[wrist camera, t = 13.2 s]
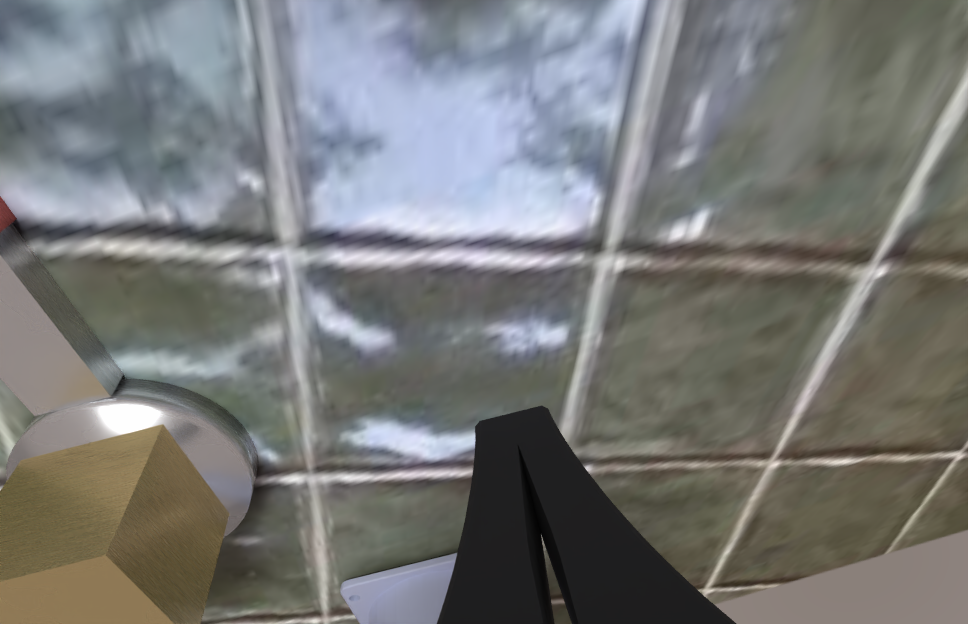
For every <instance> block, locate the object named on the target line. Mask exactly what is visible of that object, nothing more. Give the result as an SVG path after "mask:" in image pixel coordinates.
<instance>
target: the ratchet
mask: <svg viewBox="0 0 968 624" xmlns="http://www.w3.org/2000/svg"><path fill="white" fill-rule="evenodd" d="M16 219H17V218H16V217H15V216H14V214H13V213H12V212H11V210H10V209H9V208H8V206H7V205H6V203H5V202H4V201H3V199H2V198H1V197H0V378H1V379H2V380H3V381H4V383H5V384H6V385H7V386H8V387H9V388H10V389H11V390H12V391H13V393H14V394H15V395H16V396H17V397H18V398H19V399H20V400H21V401H22V403H23V404H24V405H25V406H26V407H27V408H28V409H29V410H30V411H31V412H32V414H33V415H34V416H35V417H34V419H33V420H32V422H31V423H30V425H29V426H28V427H27V429H26V430H25V432H24V433H23V435H22V436H21V437H20V439H19V440H18V442H17V443H16V445H15V446H14V448H13V449H12V452H11V454H10V456H9V458H8V463H7V468H6V469H7V480H8V479H9V477H10V476H11V474H12V473H13V471H14V470H15V468H16V467H17V465H18V464H19V462H20V461H21V460H24V459H28V458H32V457H36V456H40V455H44V454H48V453H52V452H55V451H59V450H63V449H67V448H71V447H75V446H79V445H83V444H87V443H91V442H95V441H99V440H103V439H107V438H111V437H114V436H118V435H122V434H126V433H130V432H134V431H138V430H142V429H146V428H150V427H154V426H158V425H162V424H163V425H164V426H165V427H166V429H167V430H168V431H169V433H170V434H171V435H172V437H173V438H174V440H175V441H176V442H177V444H178V445H179V446H180V448H181V449H182V450H183V452H184V453H185V454H186V456H187V457H188V458H189V460H190V461H191V462H192V464H193V465H194V466H195V468H196V469H197V471H198V472H199V473H200V475H201V476H202V477H203V479H204V480H205V481H206V483H207V484H208V485H209V487H210V488H211V489H212V491H213V492H214V493H215V495H216V496H217V497H218V499H219V500H220V502H221V503H222V504H223V506H224V507H225V508H226V510H227V511H228V512H229V518H228V522H227V525H226V529H225V533H224V537H225V536H227V535H228V534H230V533H231V532H232V531H233V530H234V529H235V528H236V527H237V526H238V525H239V524H240V522H241V521H242V520H243V519H244V517H245V515H246V513H247V511H248V508H249V504H250V501H251V497H252V492H253V488H254V484H255V479H256V475H257V469H258V458H257V452H256V449H255V445H254V443H253V441H252V439H251V437H250V435H249V433H248V432H247V431H246V429H245V428H244V427H243V425H242V424H241V423H240V422H239V421H238V420H237V419H236V418H235V417H234V416H233V415H232V414H230V413H229V412H228V411H227V410H225V409H224V408H223V407H221V406H220V405H218V404H216V403H215V402H213V401H212V400H210V399H208V398H206V397H204V396H202V395H200V394H198V393H195V392H193V391H190V390H187V389H185V388H182V387H178V386H175V385H171V384H168V383H162V382H157V381H152V380H141V379H121V378H122V376H123V372H122V371H121V370H120V368H119V367H118V366H117V364H116V363H115V362H114V360H113V359H112V357H111V356H110V355H109V353H108V352H107V351H106V349H105V348H104V347H103V345H102V344H101V343H100V341H99V340H98V339H97V337H96V336H95V335H94V333H93V332H92V330H91V329H90V328H89V326H88V325H87V324H86V322H85V321H84V320H83V318H82V317H81V316H80V314H79V313H78V312H77V310H76V309H75V308H74V306H73V305H72V303H71V302H70V301H69V299H68V298H67V297H66V295H65V294H64V293H63V291H62V290H61V289H60V287H59V286H58V285H57V283H56V282H55V281H54V279H53V278H52V276H51V275H50V274H49V272H48V271H47V270H46V268H45V267H44V266H43V264H42V263H41V262H40V260H39V259H38V258H37V256H36V255H35V254H34V252H33V251H32V249H31V248H30V247H29V245H28V244H27V243H26V241H25V240H24V239H23V237H22V236H21V235H20V233H19V232H18V231H17V229H16V228H15V227H14V225H13V224H12V222H14V221H15V220H16ZM224 537H223V538H224Z"/></svg>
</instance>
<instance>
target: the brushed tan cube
mask: <svg viewBox="0 0 968 624" xmlns="http://www.w3.org/2000/svg"><path fill="white" fill-rule="evenodd" d="M228 518H229V512H228V511H227V510H226V508H225V507H224V506H223V504H222V503H221V502H220V500H219V499H218V497H217V496H216V495H215V493H214V492H213V491H212V489H211V488H210V487H209V485H208V484H207V483H206V481H205V480H204V479H203V477H202V476H201V475H200V473H199V472H198V471H197V469H196V468H195V466H194V465H193V464H192V462H191V461H190V460H189V458H188V457H187V456H186V454H185V453H184V452H183V450H182V449H181V448H180V446H179V445H178V444H177V442H176V441H175V440H174V438H173V437H172V435H171V434H170V433H169V431H168V430H167V429H166V427H165V426H164V425H163V424H162V425H158V426H154V427H150V428H146V429H142V430H138V431H134V432H130V433H126V434H122V435H118V436H114V437H111V438H107V439H103V440H99V441H95V442H91V443H87V444H83V445H79V446H75V447H71V448H67V449H63V450H59V451H55V452H52V453H48V454H44V455H40V456H36V457H32V458H28V459H24V460H21V461H20V462H19V464H18V465H17V467H16V468H15V470H14V471H13V473H12V474H11V476H10V477H9V479H8V480H7V482H6V483H5V485H4V486H3V488H2V489H1V491H0V624H201V620H202V616H203V613H204V609H205V605H206V601H207V597H208V594H209V590H210V586H211V582H212V578H213V575H214V571H215V567H216V563H217V559H218V556H219V552H220V548H221V544H222V541H223V537H224V533H225V529H226V525H227V522H228Z"/></svg>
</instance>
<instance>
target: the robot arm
mask: <svg viewBox="0 0 968 624" xmlns="http://www.w3.org/2000/svg"><path fill="white" fill-rule="evenodd" d="M475 435H476V441H475V458H474V468H473V476H472V484H471V490H470V495H469V501H468V507H467V512H466V518H465V523H464V528H463V532H462V536H461V540H460V544H459V548H458V552H457V553H454V554H450V555H446V556H442V557H438V558H434V559H430V560H426V561H422V562H418V563H414V564H410V565H406V566H402V567H398V568H394V569H390V570H386V571H382V572H378V573H374V574H370V575H366V576H362V577H357V578H353V579H349V580H346V581H344V582H343V583H342V585H341V591H340V592H341V595H342V596H343V598H344V600H345V601H346V603H347V604H348V606H349V607H350V609H351V610H352V612H353V614H354V615H355V617H356V618H357V620H358V621H359V623H360V624H554V618H553V611H552V604H551V598H550V591H549V584H548V578H547V571H546V565H545V558H544V551H543V545H542V538H543V541H544V544H545V546H546V549H547V552H548V555H549V558H550V561H551V564H552V567H553V570H554V573H555V575H556V578H557V581H558V584H559V587H560V590H561V593H562V596H563V599H564V602H565V604H566V607H567V610H568V613H569V616H570V619H571V622H572V624H736V623H735V622H734V621H733V620H732V619H730V618H729V617H728V616H727V615H726V614H724V613H723V612H722V611H721V610H720V609H719V608H717V607H716V606H715V605H714V604H713V603H711V602H710V601H709V600H708V599H707V598H706V597H704V596H703V595H702V594H701V593H700V592H699V591H698V590H697V589H696V588H695V587H694V586H692V585H691V584H690V583H689V582H688V581H687V580H686V579H685V578H684V577H683V576H682V575H681V574H680V573H678V572H677V571H676V570H675V569H674V568H673V567H672V566H671V565H670V564H669V563H668V562H667V561H666V560H665V559H664V558H663V557H662V556H661V555H660V554H659V553H658V552H657V551H656V550H655V549H654V548H653V547H652V546H651V545H650V544H649V543H648V542H647V541H646V540H645V539H644V537H643V536H642V535H641V534H640V533H639V532H638V531H637V530H636V529H635V528H634V527H633V526H632V524H631V523H630V522H629V521H628V520H627V519H626V518H625V517H624V516H623V514H622V513H621V512H620V511H619V510H618V509H617V508H616V506H615V505H614V504H613V503H612V502H611V500H610V499H609V498H608V497H607V496H606V495H605V493H604V492H603V491H602V490H601V488H600V487H599V486H598V484H597V483H596V482H595V481H594V479H593V478H592V477H591V476H590V474H589V473H588V472H587V470H586V469H585V468H584V466H583V465H582V464H581V462H580V461H579V460H578V458H577V457H576V455H575V454H574V452H573V451H572V449H571V448H570V447H569V445H568V444H567V442H566V441H565V439H564V437H563V436H562V434H561V433H560V431H559V429H558V427H557V426H556V424H555V422H554V420H553V418H552V416H551V414H550V412H549V410H548V408H545V407H543V406H538V407H534V408H530V409H526V410H522V411H518V412H514V413H510V414H506V415H502V416H498V417H494V418H490V419H486V420H482V421H479V423H478V424H477V425H476V426H475ZM541 535H542V538H541Z"/></svg>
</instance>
